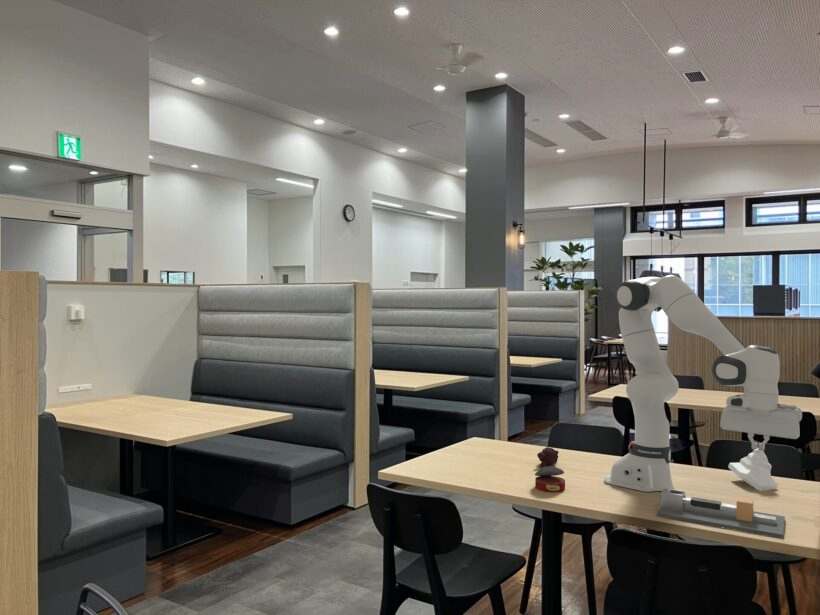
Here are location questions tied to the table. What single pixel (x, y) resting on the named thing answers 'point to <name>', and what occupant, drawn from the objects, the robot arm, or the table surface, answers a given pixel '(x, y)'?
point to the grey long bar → (675, 501)
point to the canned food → (549, 480)
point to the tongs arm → (709, 504)
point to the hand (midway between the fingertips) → (757, 449)
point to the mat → (727, 521)
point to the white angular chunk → (755, 470)
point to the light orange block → (744, 509)
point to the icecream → (548, 456)
